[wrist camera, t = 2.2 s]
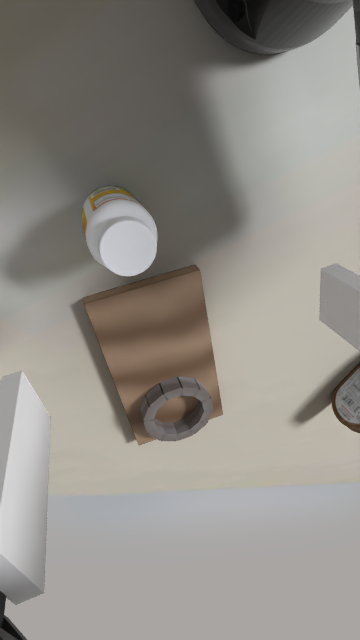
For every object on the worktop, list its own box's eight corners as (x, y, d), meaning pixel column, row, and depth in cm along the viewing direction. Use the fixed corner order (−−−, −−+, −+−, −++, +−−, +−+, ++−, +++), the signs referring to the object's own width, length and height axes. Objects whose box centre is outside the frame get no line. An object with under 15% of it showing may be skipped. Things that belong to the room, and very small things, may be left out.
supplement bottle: (121, 255, 33) (140, 298, 25) (70, 225, 31) (72, 263, 23) (151, 207, 32) (181, 237, 24) (100, 172, 29) (115, 192, 21)
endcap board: (83, 297, 34) (85, 314, 32) (195, 264, 36) (206, 277, 33) (136, 436, 46) (141, 458, 44) (218, 406, 48) (228, 425, 45)
